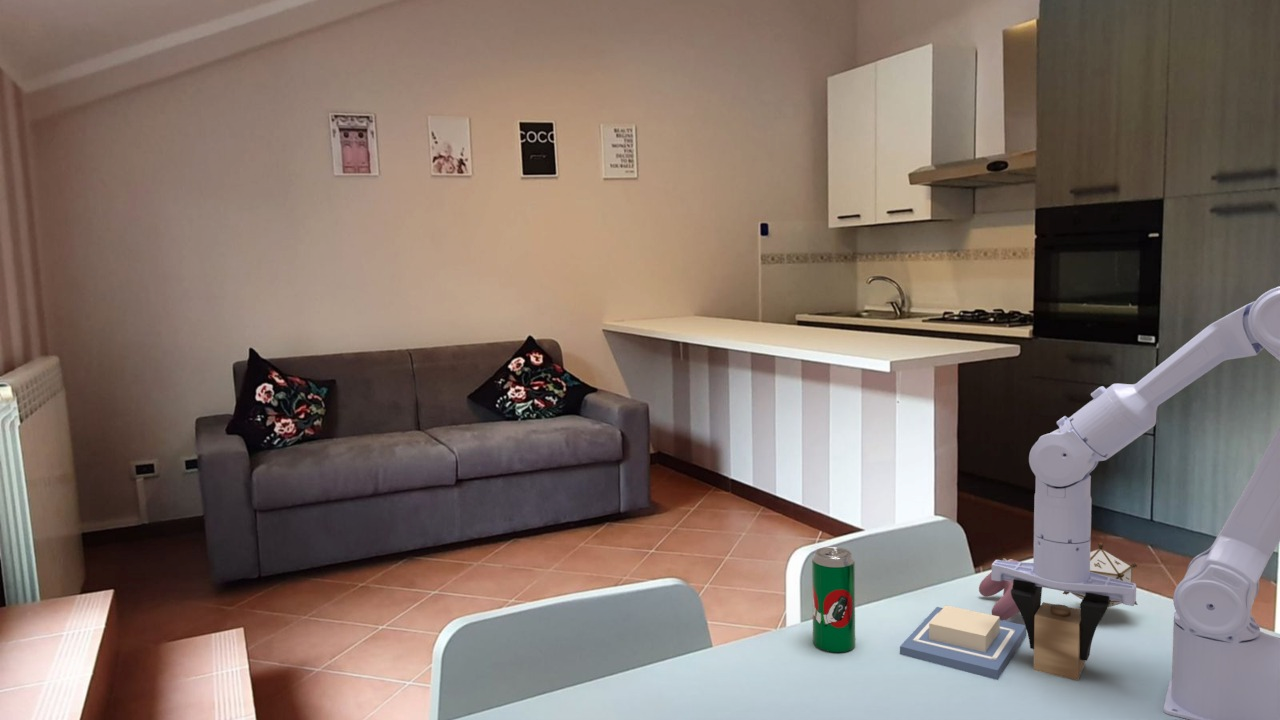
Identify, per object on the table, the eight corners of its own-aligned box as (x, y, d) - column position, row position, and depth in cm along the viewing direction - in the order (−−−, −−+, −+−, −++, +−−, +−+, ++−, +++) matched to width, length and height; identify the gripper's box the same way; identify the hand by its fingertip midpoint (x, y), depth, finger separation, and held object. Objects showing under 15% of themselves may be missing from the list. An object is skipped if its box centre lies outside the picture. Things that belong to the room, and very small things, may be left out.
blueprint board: (1026, 634, 104) (1026, 610, 103) (997, 680, 92) (997, 653, 92) (936, 615, 110) (936, 592, 110) (899, 655, 99) (899, 630, 99)
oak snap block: (1084, 664, 95) (1086, 605, 95) (1077, 680, 92) (1079, 619, 91) (1042, 655, 98) (1043, 597, 97) (1033, 670, 95) (1034, 610, 94)
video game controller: (1027, 632, 106) (1044, 581, 105) (990, 620, 107) (1007, 570, 105) (1009, 601, 115) (1024, 555, 114) (975, 591, 116) (991, 545, 115)
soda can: (863, 647, 102) (863, 552, 100) (838, 660, 98) (837, 562, 97) (829, 634, 105) (828, 542, 104) (804, 646, 102) (803, 552, 101)
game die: (1137, 635, 102) (1139, 556, 101) (1060, 622, 107) (1062, 547, 106) (1136, 609, 110) (1138, 535, 109) (1064, 598, 114) (1066, 527, 113)
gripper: (1141, 536, 92) (1137, 653, 94) (1002, 517, 101) (1001, 624, 102) (1132, 554, 87) (1129, 678, 88) (987, 532, 95) (985, 645, 97)
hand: (1059, 651), depth 95 cm, fingers closed on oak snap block, 4 cm apart
